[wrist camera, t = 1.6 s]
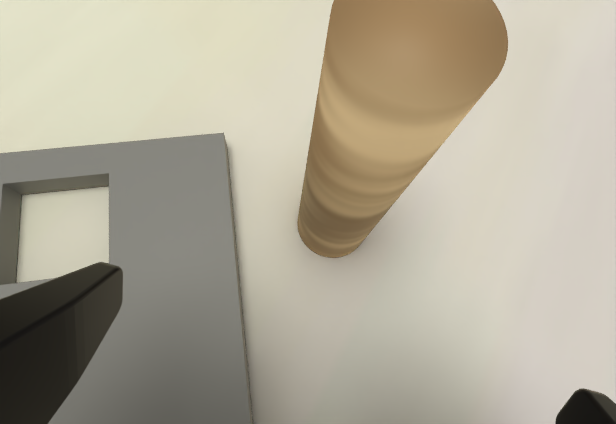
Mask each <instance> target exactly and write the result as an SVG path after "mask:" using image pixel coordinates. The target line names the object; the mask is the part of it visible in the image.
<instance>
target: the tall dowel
mask: <svg viewBox="0 0 616 424" xmlns="http://www.w3.org/2000/svg"><path fill="white" fill-rule="evenodd" d="M507 51H508V37H507V30H506V27H505V23H504V20H503V18H502V16H501V13H500V11H499V10H498V8H497V6H496V5H495V3H494V2H493V1H492V0H334V2H333V5H332V9H331V14H330V20H329V26H328V32H327V39H326V45H325V51H324V58H323V64H322V70H321V76H320V83H319V89H318V95H317V101H316V108H315V114H314V120H313V127H312V133H311V139H310V145H309V152H308V158H307V164H306V171H305V177H304V183H303V189H302V196H301V202H300V208H299V215H298V231H299V234H300V237H301V239H302V241H303V242H304V243H305V245H306V246H307V247H308V248H309V249H310V250H312V251H313V252H315V253H317V254H319V255H321V256H324V257H331V258H336V257H342V256H345V255H348V254H350V253H351V252H353V251H354V250H355V249H356V248H358V246H359V245H360V244H361V243H362V241H363V240H364V239H365V238H366V237H367V235H368V234H369V233H370V232H371V231H372V229H373V228H374V227H375V226H376V224H377V223H378V222H379V221H380V220H381V218H382V217H383V216H384V215H385V213H386V212H387V211H388V210H389V209H390V207H391V206H392V205H393V204H394V202H395V201H396V200H397V199H398V198H399V196H400V195H401V194H402V193H403V192H404V190H405V189H406V188H407V187H408V185H409V184H410V183H411V182H412V181H413V179H414V178H415V177H416V176H417V174H418V173H419V172H420V171H421V170H422V168H423V167H424V166H425V165H426V163H427V162H428V161H429V160H430V159H431V157H432V156H433V155H434V154H435V152H436V151H437V150H438V149H439V148H440V146H441V145H442V144H443V143H444V142H445V140H446V139H447V138H448V137H449V135H450V134H451V133H452V132H453V131H454V129H455V128H456V127H457V126H458V124H459V123H460V122H461V121H462V120H463V118H464V117H465V116H466V115H467V113H468V112H469V111H470V110H471V109H472V107H473V106H474V105H475V104H476V102H477V101H478V100H479V99H480V98H481V96H482V95H483V94H484V93H485V92H486V90H487V89H488V88H489V87H490V85H491V84H492V83H493V82H494V81H495V79H496V78H497V77H498V75H499V73H500V72H501V70H502V68H503V66H504V63H505V60H506V56H507Z"/></svg>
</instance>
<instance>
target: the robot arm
mask: <svg viewBox="0 0 616 424" xmlns="http://www.w3.org/2000/svg"><path fill="white" fill-rule="evenodd" d="M122 300H123V271H122V269H121V268H120V267H119V266H116V265H112V264H108V263H104V262H99V263H96V264H93V265H90V266H88V267H85V268H82V269H79V270H77V271H74V272H71V273H69V274H66V275H63V276H61V277H58V278H55V279H53V280H50V281H47V282H45V283H42V284H39V285H36V286H34V287H31V288H28V289H26V290H23V291H20V292H18V293H15V294H12V295H10V296H7V297H4V298H2V299H0V424H48V423H49V421H50V420H51V419H52V417H53V416H54V415H55V413H56V412H57V410H58V409H59V408H60V406H61V405H62V404H63V402H64V401H65V399H66V398H67V397H68V395H69V394H70V393H71V391H72V390H73V388H74V387H75V385H76V384H77V382H78V381H79V379H80V378H81V376H82V374H83V373H84V371H85V369H86V368H87V366H88V364H89V363H90V361H91V359H92V357H93V356H94V354H95V352H96V350H97V349H98V347H99V345H100V344H101V342H102V340H103V338H104V337H105V335H106V333H107V331H108V330H109V328H110V326H111V325H112V323H113V321H114V319H115V318H116V316H117V314H118V312H119V310H120V308H121V305H122ZM556 424H616V404H615V403H614V402H613V401H612V400H611V399H609V398H608V397H607V396H606V395H604V394H602V393H599V392H595V391H591V390H588V389H579V390H577V391H575V392H574V394H573V395H572V396H571V397H570V399H569V400H568V401H567V403H566V404H565V405H564V407H563V408H562V409H561V410H560V412H559V413H558V415H557V417H556Z"/></svg>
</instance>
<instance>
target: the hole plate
mask: <svg viewBox="0 0 616 424" xmlns="http://www.w3.org/2000/svg"><path fill="white" fill-rule="evenodd" d="M102 186H109V264H112V265H116V266H119V267H120V268H121V269H122V271H123V300H122V305H121V308H120V310H119V312H118V314H117V316H116V318H115V319H114V321H113V323H112V325H111V326H110V328H109V330H108V331H107V333H106V335H105V337H104V338H103V340H102V342H101V344H100V345H99V347H98V349H97V350H96V352H95V354H94V356H93V357H92V359H91V361H90V363H89V364H88V366H87V368H86V369H85V371H84V373H83V374H82V376H81V378H80V379H79V381H78V382H77V384H76V385H75V387H74V388H73V390H72V391H71V393H70V394H69V395H68V397H67V398H66V399H65V401H64V402H63V404H62V405H61V406H60V408H59V409H58V410H57V412H56V413H55V415H54V416H53V417H52V419H51V420H50V421H49V423H48V424H253V419H252V408H251V397H250V387H249V376H248V365H247V354H246V344H245V333H244V322H243V312H242V301H241V290H240V279H239V269H238V258H237V247H236V237H235V226H234V215H233V204H232V194H231V183H230V172H229V161H228V151H227V144H226V140H225V136H224V133H217V134H206V135H195V136H184V137H173V138H162V139H152V140H141V141H130V142H119V143H108V144H97V145H86V146H75V147H65V148H54V149H43V150H32V151H21V152H10V153H0V299H2V298H4V297H7V296H10V295H12V294H15V293H18V292H20V291H23V290H26V289H28V288H31V287H34V286H36V285H39V284H42V283H45V282H47V281H50V280H53V279H55V278H53V279H45V280H37V281H29V282H21V283H16V270H17V255H18V240H19V225H20V209H21V195H24V194H34V193H44V192H53V191H63V190H73V189H83V188H92V187H102Z"/></svg>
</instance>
